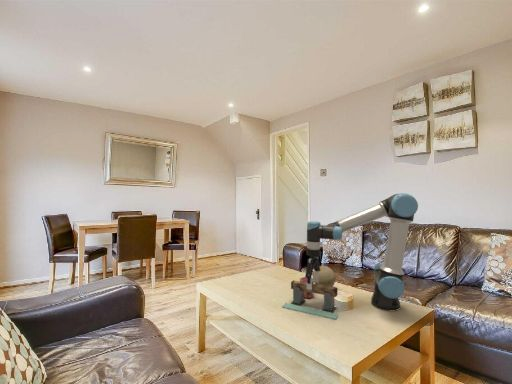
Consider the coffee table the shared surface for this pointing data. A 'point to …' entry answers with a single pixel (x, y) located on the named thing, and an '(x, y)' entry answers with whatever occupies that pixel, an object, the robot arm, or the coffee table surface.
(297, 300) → the post
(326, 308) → the post
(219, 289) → the coffee table surface
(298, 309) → the mat
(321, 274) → the decorative ball
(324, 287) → the rail
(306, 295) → the mug
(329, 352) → the coffee table surface
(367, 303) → the coffee table surface
